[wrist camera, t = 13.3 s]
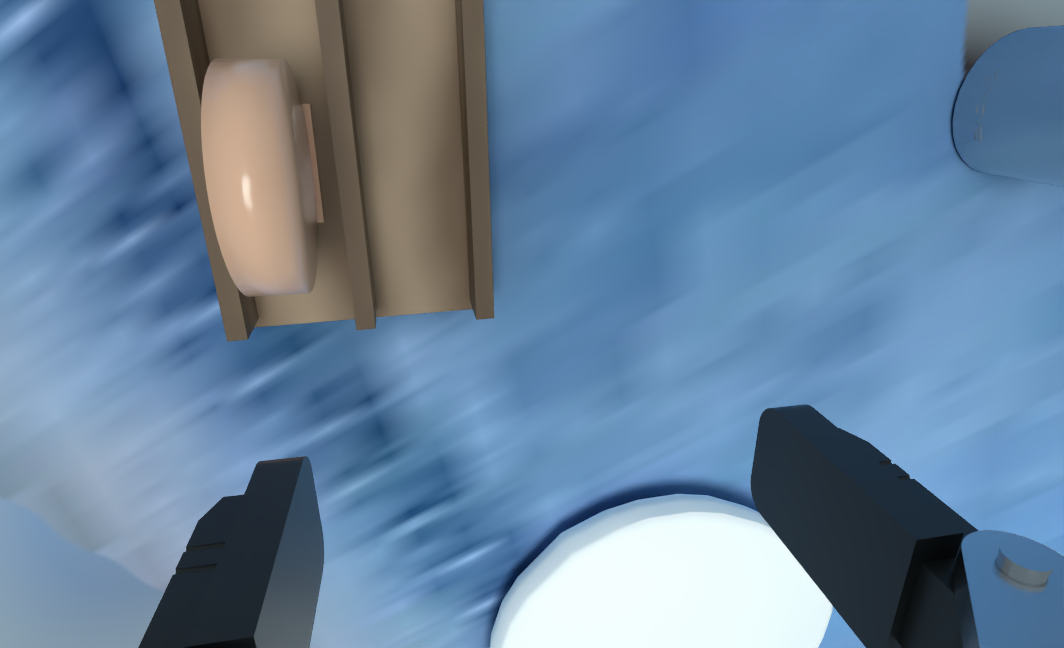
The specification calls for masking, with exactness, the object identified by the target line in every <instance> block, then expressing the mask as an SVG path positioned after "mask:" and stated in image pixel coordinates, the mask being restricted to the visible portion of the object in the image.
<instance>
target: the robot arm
mask: <svg viewBox="0 0 1064 648" xmlns="http://www.w3.org/2000/svg"><path fill="white" fill-rule="evenodd" d="M953 137H954V141H955V145H956V149H957V151H958V153H959V154H960V156H961V158H962V159H963V160H964V162H965V163H966V164H967V165H968V166H969V167H971V168H973V169H975V170H977V171H978V172H983V173H988V174H993V175H999V176H1004V177H1010V178H1016V179H1021V180H1027V181H1032V182H1037V183H1042V184H1048V185H1054V186H1060V187H1064V26H1048V27H1034V28H1026V29H1022V30H1018V31H1015V32H1013V33H1011V34H1009V35H1007V36H1005V37H1003V38H1001V39H1000V40H998V41H997V42H996V43H995V44H993V45H992V46H991V47H989V48H988V49H987V50H986V51H985V53H984V54H983V55H982V56H981V57H980V58H979V59H978V60H977V61H976V63H975V64H974V66H973V67H972V69H971V70H970V72H969V73H968V75H967V77H966V79H965V81H964V83H963V85H962V87H961V89H960V91H959V95H958V98H957V101H956V104H955V109H954V115H953ZM751 492H752V496H753V500H754V503H755V505H756V508H757V510H758V511H759V513H760V514H761V516H762V517H763V518H764V520H765V521H766V522H767V523H768V525H769V526H770V527H771V528H772V530H773V531H774V532H775V533H776V535H777V536H778V537H779V538H780V540H781V541H782V542H783V543H784V545H785V546H786V547H787V549H788V550H789V551H790V552H791V554H792V555H793V556H794V557H795V559H796V560H797V561H798V562H799V564H800V565H801V566H802V567H803V569H804V570H805V571H806V572H807V574H808V575H809V576H810V578H811V579H812V580H813V581H814V583H815V584H816V585H817V586H818V588H819V589H820V590H821V591H822V593H823V594H824V595H825V596H826V598H827V599H828V600H829V601H830V603H831V604H832V605H833V607H834V608H835V609H836V610H837V612H838V613H839V614H840V615H841V617H842V618H843V619H844V620H845V622H846V623H847V624H848V625H849V627H850V628H851V629H852V630H853V632H854V633H855V634H856V636H857V637H858V638H859V639H860V641H861V642H862V643H863V644H864V646H865V647H866V648H1064V556H1062V555H1060V554H1059V553H1057V552H1056V551H1054V550H1052V549H1050V548H1049V547H1047V546H1045V545H1043V544H1041V543H1038V542H1036V541H1034V540H1031V539H1028V538H1026V537H1023V536H1020V535H1016V534H1013V533H1008V532H1003V531H995V530H983V531H978V530H977V529H976V528H974V527H973V526H972V525H971V524H970V523H968V522H967V521H966V520H965V519H963V518H962V517H961V516H960V515H958V514H957V513H956V512H955V511H953V510H952V509H951V508H950V507H948V506H947V505H946V504H945V503H943V502H942V501H941V500H940V499H938V498H937V497H936V496H935V495H934V494H932V493H931V492H930V491H929V490H927V489H926V488H925V487H924V486H922V485H921V484H920V483H919V482H917V481H916V480H915V479H910V477H909V474H907V473H906V472H905V471H904V470H902V469H901V468H900V467H899V466H898V465H896V464H892V463H891V460H890V459H889V458H888V457H886V456H885V455H884V454H883V453H881V452H880V451H879V450H878V449H876V448H875V447H874V446H873V445H871V444H870V443H869V442H867V441H865V440H863V439H861V438H859V437H857V436H855V435H853V434H851V433H849V432H846V431H844V430H842V429H840V428H837V427H836V426H835V425H833V424H832V423H831V422H830V421H829V420H827V419H826V418H825V417H824V416H823V415H821V414H820V413H819V412H818V411H817V410H815V409H814V408H813V407H811V406H809V405H796V406H787V407H777V408H769V409H766V410H765V411H764V412H763V413H762V415H761V417H760V421H759V427H758V434H757V441H756V447H755V454H754V461H753V468H752V474H751ZM323 564H324V542H323V532H322V526H321V520H320V514H319V508H318V502H317V496H316V491H315V485H314V479H313V473H312V468H311V464H310V461H309V458H308V457H306V456H305V457H296V458H286V459H277V460H267V461H259V462H258V463H257V465H256V467H255V469H254V472H253V474H252V477H251V479H250V482H249V484H248V487H247V489H246V492H245V494H244V495H237V496H228V497H223V498H222V499H221V500H220V501H219V502H218V503H217V504H216V505H215V506H213V507H212V508H211V509H210V510H209V511H208V512H207V513H206V514H205V515H204V516H203V517H202V518H201V519H200V520H199V521H198V523H197V525H196V527H195V529H194V532H193V534H192V536H191V538H190V540H189V542H188V544H187V546H186V552H184V553H183V555H182V557H181V559H180V561H179V563H178V565H177V567H176V574H175V575H173V576H172V578H171V580H170V582H169V584H168V586H167V588H166V591H165V593H164V595H163V597H162V599H161V601H160V603H159V605H158V608H157V610H156V612H155V614H154V616H153V618H152V620H151V622H150V624H149V626H148V629H147V631H146V633H145V635H144V637H143V639H142V641H141V644H140V646H139V648H309V647H310V641H311V635H312V630H313V624H314V618H315V613H316V607H317V601H318V596H319V590H320V584H321V579H322V573H323Z"/></svg>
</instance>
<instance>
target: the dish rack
mask: <svg viewBox="0 0 1064 648" xmlns="http://www.w3.org/2000/svg"><path fill="white" fill-rule="evenodd" d="M154 3H155V8H156V13H157V17H158V22H159V26H160V31H161V36H162V40H163V45H164V50H165V54H166V59H167V64H168V68H169V73H170V78H171V82H172V87H173V92H174V96H175V101H176V105H177V110H178V115H179V119H180V124H181V129H182V133H183V138H184V143H185V147H186V152H187V157H188V161H189V166H190V171H191V175H192V180H193V184H194V189H195V194H196V198H197V203H198V208H199V212H200V217H201V222H202V226H203V231H204V236H205V240H206V245H207V250H208V254H209V259H210V263H211V268H212V273H213V277H214V282H215V287H216V291H217V296H218V301H219V305H220V310H221V315H222V319H223V324H224V329H225V333H226V338H227V341H237V340H248V338H249V336H250V334H251V332H252V331H253V329H254V327H264V326H276V325H288V324H300V323H312V322H324V321H336V320H347V319H355V322H356V330H363V329H374V328H376V317H383V316H395V315H407V314H419V313H431V312H443V311H455V310H467V309H473V311H474V314H475V317H476V320H478V319H489V318H494V298H493V269H492V240H491V211H490V182H489V153H488V124H487V95H486V66H485V37H484V8H483V0H154ZM216 58H267V59H285V60H286V61H287V62H288V63H289V65H290V67H291V69H292V72H293V74H294V77H295V80H296V84H297V87H298V91H299V95H300V99H301V103H311V107H312V115H313V123H314V132H315V140H316V148H317V157H318V165H319V174H320V182H321V190H322V199H323V207H324V215H325V221H324V222H321V223H317V237H318V255H317V272H316V280H315V285H314V288H313V290H312V292H311V293H303V294H286V295H269V296H252V297H248V296H245V295H244V294H243V293H241V292H240V291H239V289H238V288H237V286H236V285H235V283H234V281H233V280H232V278H231V276H230V274H229V271H228V269H227V267H226V264H225V261H224V259H223V256H222V253H221V250H220V246H219V243H218V240H217V236H216V232H215V228H214V224H213V220H212V215H211V210H210V205H209V199H208V193H207V188H206V180H205V173H204V164H203V153H202V138H201V103H202V92H203V84H204V79H205V75H206V72H207V69H208V66H209V65H210V63H211V62H212V61H213V60H214V59H216Z"/></svg>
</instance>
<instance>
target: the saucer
mask: <svg viewBox="0 0 1064 648" xmlns="http://www.w3.org/2000/svg"><path fill="white" fill-rule="evenodd" d="M201 138H202V153H203V164H204V173H205V180H206V188H207V193H208V199H209V205H210V210H211V215H212V220H213V224H214V228H215V232H216V236H217V240H218V243H219V246H220V250H221V253H222V256H223V259H224V261H225V264H226V267H227V269H228V271H229V274H230V276H231V278H232V280H233V281H234V283H235V285H236V286H237V288H238V289H239V291H240V292H241V293H243V294H244V295H245V296H248V297H252V296H269V295H286V294H303V293H311V292H312V290H313V288H314V285H315V280H316V272H317V255H318V237H317V223H321V222H324V221H325V215H324V207H323V199H322V190H321V182H320V174H319V165H318V157H317V148H316V140H315V132H314V123H313V115H312V107H311V103H301V99H300V95H299V91H298V87H297V84H296V80H295V77H294V74H293V72H292V69H291V67H290V65H289V63H288V62H287V61H286V60H285V59H267V58H216V59H214V60H213V61H212V62H211V63H210V65H209V66H208V69H207V72H206V75H205V79H204V84H203V92H202V103H201Z"/></svg>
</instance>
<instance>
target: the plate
mask: <svg viewBox="0 0 1064 648" xmlns="http://www.w3.org/2000/svg"><path fill="white" fill-rule="evenodd" d="M831 613H832V604H831V603H830V601H829V600H828V599H827V598H826V596H825V595H824V594H823V593H822V591H821V590H820V589H819V588H818V586H817V585H816V584H815V583H814V581H813V580H812V579H811V578H810V576H809V575H808V574H807V572H806V571H805V570H804V569H803V567H802V566H801V565H800V564H799V562H798V561H797V560H796V559H795V557H794V556H793V555H792V554H791V552H790V551H789V550H788V549H787V547H786V546H785V545H784V543H783V542H782V541H781V540H780V538H779V537H778V536H777V535H776V533H775V532H774V531H773V530H772V528H771V527H770V526H769V525H768V523H767V522H766V521H765V520H764V518H763V517H762V516H761V514H760V513H759V512H757V511H755V510H753V509H751V508H748V507H746V506H744V505H740V504H737V503H733V502H730V501H726V500H722V499H719V498H715V497H712V496H708V495H692V494H673V495H666V496H659V497H653V498H646V499H639V500H635V501H632V502H629V503H626V504H623V505H620V506H617V507H613V508H610V509H607V510H604V511H602V512H600V513H598V514H596V515H594V516H592V517H590V518H588V519H587V520H585V521H583V522H581V523H579V524H577V525H575V526H573V527H571V528H569V529H567V530H565V531H563V532H562V533H561V534H560V535H559V536H558V537H557V538H556V539H555V540H554V541H553V542H552V543H551V544H550V545H549V546H548V547H547V548H546V549H545V550H544V551H543V552H542V553H541V554H540V555H539V556H538V557H537V558H536V559H535V560H534V561H533V562H532V563H531V564H530V565H529V566H528V567H527V568H526V569H525V570H524V571H523V572H522V573H521V574H520V575H519V576H518V577H517V579H516V580H515V582H514V583H513V585H512V587H511V588H510V590H509V591H508V593H507V594H506V596H505V598H504V599H503V601H502V603H501V606H500V609H499V612H498V615H497V618H496V621H495V624H494V627H493V630H492V633H491V642H490V648H818V647H819V645H820V643H821V641H822V639H823V637H824V634H825V631H826V628H827V625H828V622H829V619H830V616H831Z"/></svg>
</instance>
